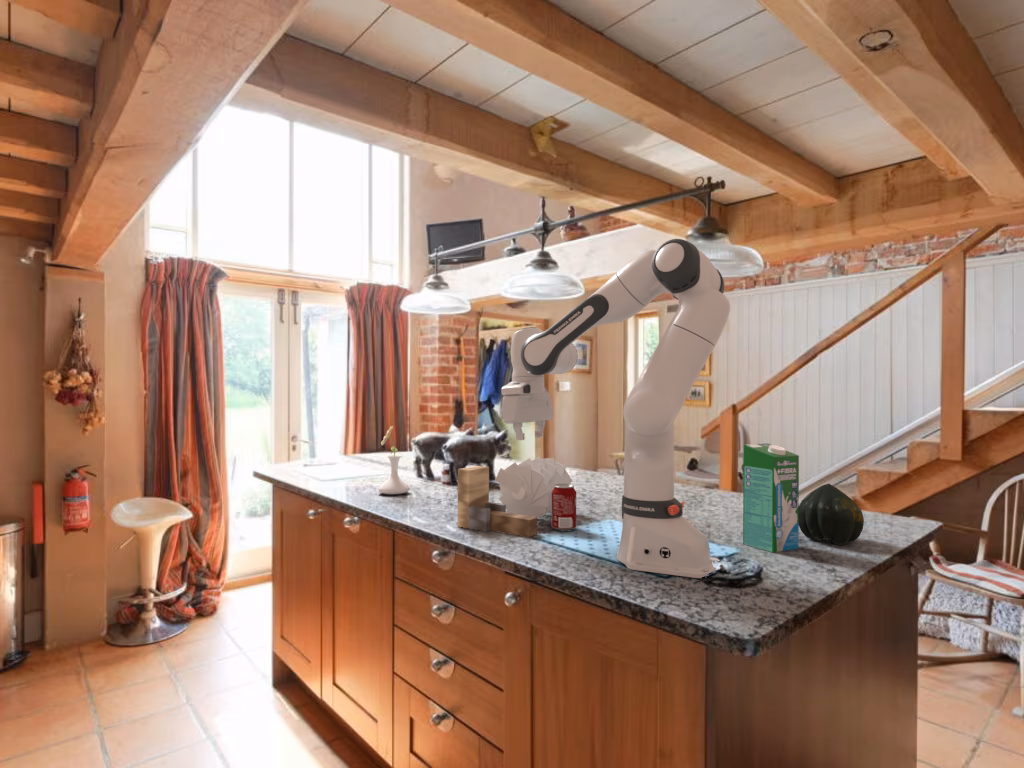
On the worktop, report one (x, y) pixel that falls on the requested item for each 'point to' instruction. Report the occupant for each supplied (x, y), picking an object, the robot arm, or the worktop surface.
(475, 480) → the post
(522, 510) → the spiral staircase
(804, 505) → the squash
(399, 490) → the flower in vase
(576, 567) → the worktop surface
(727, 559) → the worktop surface
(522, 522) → the wooden block
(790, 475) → the milk carton
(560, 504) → the soda can
